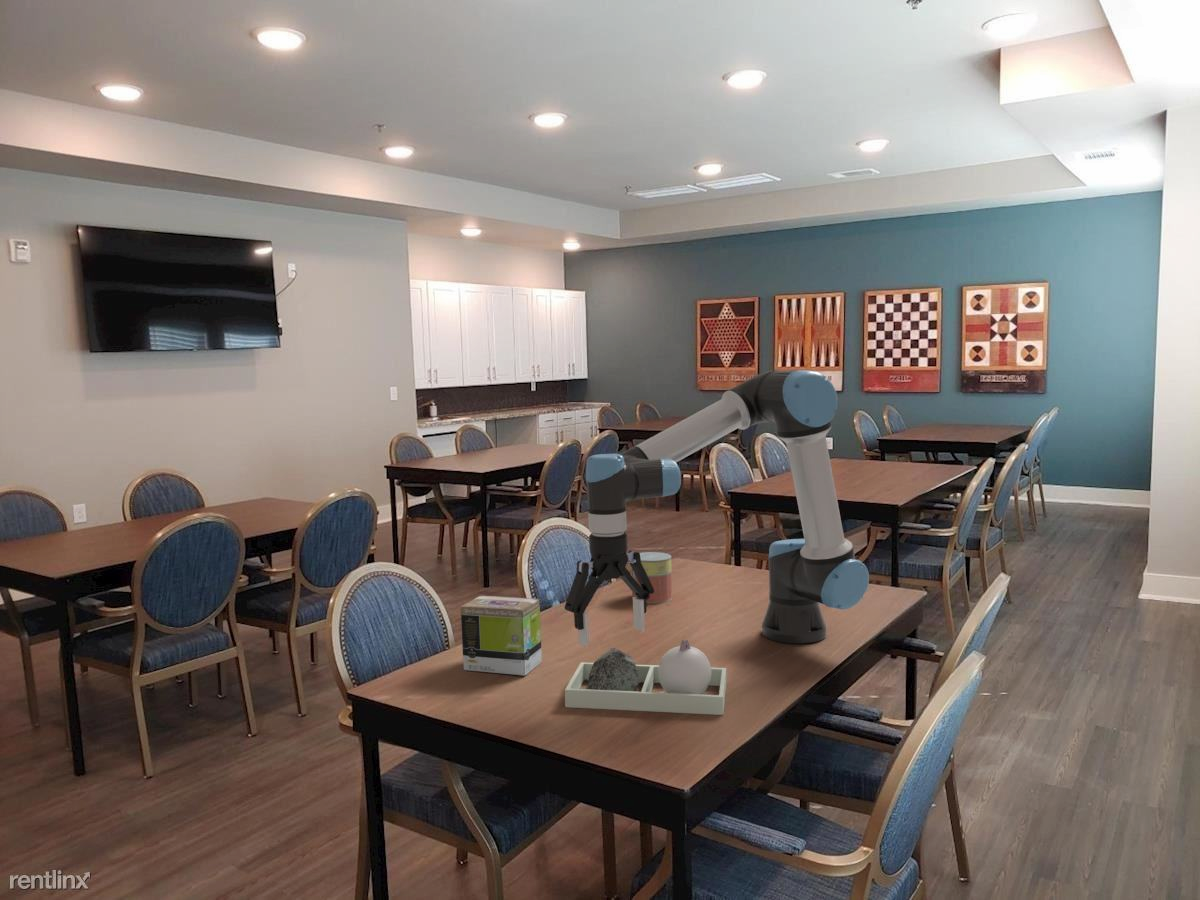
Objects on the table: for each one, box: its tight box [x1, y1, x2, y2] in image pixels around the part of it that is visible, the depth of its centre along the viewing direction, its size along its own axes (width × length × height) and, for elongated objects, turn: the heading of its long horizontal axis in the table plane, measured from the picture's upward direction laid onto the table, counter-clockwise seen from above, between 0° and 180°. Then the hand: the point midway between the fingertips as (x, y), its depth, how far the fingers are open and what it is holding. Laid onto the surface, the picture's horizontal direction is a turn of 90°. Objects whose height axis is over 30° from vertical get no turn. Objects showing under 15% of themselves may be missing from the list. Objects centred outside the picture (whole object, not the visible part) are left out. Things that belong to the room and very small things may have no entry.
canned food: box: [631, 551, 673, 604], centre depth 246 cm, size 11×11×12 cm
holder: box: [564, 661, 727, 716], centre depth 175 cm, size 30×16×4 cm, turn 80°
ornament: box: [658, 638, 712, 695], centre depth 173 cm, size 10×10×12 cm
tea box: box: [460, 595, 543, 677], centre depth 193 cm, size 15×10×15 cm, turn 71°
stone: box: [584, 647, 640, 691], centre depth 177 cm, size 10×10×10 cm
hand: (612, 637), depth 176 cm, fingers open, 13 cm apart
